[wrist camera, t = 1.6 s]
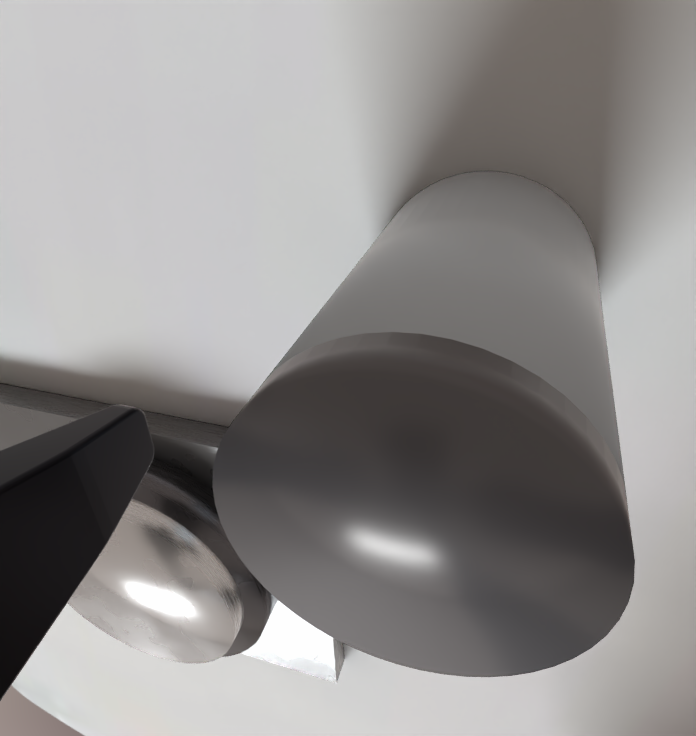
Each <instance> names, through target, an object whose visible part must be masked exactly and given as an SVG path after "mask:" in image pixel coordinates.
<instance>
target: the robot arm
mask: <svg viewBox="0 0 696 736" xmlns="http://www.w3.org/2000/svg"><path fill="white" fill-rule="evenodd" d="M153 457H154V444H153V441H152V437H151V434H150V430H149V427H148V423H147V420H146V417H145V414H144V412H143V411H142V410H141V409H139V408H137V407H132V406H127V405H121V404H117V405H112V406H110V407H107V408H105V409H102V410H100V411H97V412H95V413H92V414H90V415H87V416H85V417H82V418H80V419H78V420H75V421H73V422H70V423H68V424H65V425H63V426H60V427H58V428H55V429H53V430H50V431H48V432H45V433H43V434H40V435H38V436H35V437H33V438H30V439H28V440H25V441H23V442H20V443H18V444H15V445H13V446H10V447H8V448H5V449H3V450H0V701H1V699H2V698H3V696H4V695H5V693H6V692H7V690H8V689H9V688H10V686H11V685H12V683H13V682H14V680H15V679H16V677H17V676H18V674H19V673H20V671H21V670H22V668H23V667H24V665H25V664H26V663H27V661H28V660H29V658H30V657H31V655H32V654H33V652H34V651H35V649H36V648H37V646H38V645H39V643H40V642H41V641H42V639H43V638H44V636H45V635H46V633H47V632H48V630H49V629H50V627H51V626H52V624H53V623H54V621H55V620H56V619H57V617H58V616H59V614H60V613H61V611H62V610H63V608H64V607H65V605H66V604H67V602H68V601H69V599H70V598H71V596H72V595H73V594H74V592H75V591H76V589H77V588H78V586H79V585H80V583H81V582H82V580H83V579H84V577H85V576H86V574H87V573H88V572H89V570H90V569H91V567H92V566H93V564H94V563H95V561H96V560H97V558H98V557H99V555H100V554H101V552H102V551H103V549H104V548H105V546H106V544H107V543H108V541H109V539H110V538H111V536H112V534H113V532H114V531H115V529H116V527H117V525H118V523H119V522H120V520H121V518H122V516H123V514H124V513H125V511H126V509H127V507H128V505H129V503H130V502H131V500H132V498H133V496H134V494H135V492H136V491H137V489H138V487H139V485H140V483H141V482H142V480H143V478H144V476H145V474H146V472H147V471H148V469H149V467H150V465H151V463H152V461H153Z"/></svg>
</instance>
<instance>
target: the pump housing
mask: <svg viewBox="0 0 696 736" xmlns="http://www.w3.org/2000/svg"><path fill="white" fill-rule="evenodd" d="M213 494H214V500H215V506H216V509H217V512H218V516H219V519H220V522H221V525H222V527H223V529H224V531H225V533H226V536H227V538H228V540H229V541H230V543H231V545H232V546H233V548H234V550H235V551H236V553H237V555H238V556H239V558H240V559H241V560H242V562H243V563H244V564H245V566H246V567H247V568H248V570H249V571H250V572H251V573H252V574H253V576H254V577H255V578H256V579H257V580H258V581H259V582H260V583H261V584H262V585H263V587H264V588H266V589H267V590H268V591H269V592H270V593H271V594H272V595H273V596H274V597H275V598H276V599H277V600H278V601H280V602H281V603H282V604H283V605H285V606H286V607H287V608H288V609H290V610H291V611H292V612H293V613H295V614H296V615H297V616H299V617H300V618H302V619H303V620H305V621H306V622H308V623H309V624H311V625H312V626H314V627H315V628H317V629H319V630H320V631H322V632H324V633H326V634H327V635H329V636H331V637H333V638H334V639H336V640H338V641H340V642H343V643H345V644H347V645H349V646H351V647H353V648H355V649H357V650H360V651H362V652H365V653H367V654H370V655H372V656H374V657H377V658H380V659H383V660H386V661H389V662H392V663H395V664H399V665H403V666H406V667H410V668H414V669H418V670H423V671H428V672H434V673H439V674H447V675H456V676H466V677H498V676H512V675H518V674H525V673H531V672H535V671H539V670H543V669H547V668H550V667H554V666H556V665H559V664H561V663H564V662H566V661H568V660H571V659H573V658H575V657H577V656H578V655H580V654H582V653H584V652H585V651H587V650H589V649H590V648H592V647H593V646H594V645H595V644H597V643H598V642H599V641H600V640H601V639H603V638H604V637H605V636H606V635H607V634H608V633H609V632H610V630H611V629H612V628H613V627H614V626H615V624H616V623H617V622H618V621H619V619H620V617H621V616H622V614H623V612H624V610H625V608H626V606H627V604H628V602H629V598H630V595H631V591H632V587H633V584H634V565H635V560H634V552H633V544H632V536H631V529H630V521H629V513H628V505H627V497H626V490H625V482H624V474H623V466H622V458H621V451H620V443H619V435H618V427H617V420H616V412H615V404H614V396H613V388H612V381H611V373H610V365H609V357H608V349H607V342H606V334H605V326H604V318H603V311H602V303H601V295H600V287H599V279H598V272H597V264H596V258H595V251H594V248H593V245H592V242H591V239H590V236H589V234H588V232H587V230H586V228H585V226H584V224H583V222H582V221H581V220H580V218H579V217H578V215H577V214H576V212H575V211H574V210H573V209H572V208H571V207H570V206H569V205H568V204H567V203H566V202H565V201H564V200H563V199H562V198H561V197H559V196H558V195H557V194H555V193H554V192H553V191H552V190H550V189H548V188H546V187H545V186H543V185H541V184H539V183H537V182H535V181H532V180H530V179H527V178H525V177H522V176H518V175H514V174H510V173H504V172H495V171H475V172H469V173H463V174H458V175H455V176H451V177H448V178H445V179H443V180H440V181H438V182H436V183H434V184H431V185H430V186H428V187H426V188H425V189H423V190H422V191H420V192H419V193H417V194H416V195H415V196H414V197H412V198H411V199H410V200H409V201H408V202H407V203H406V204H405V205H404V206H403V207H402V208H401V209H400V210H399V211H398V213H397V214H396V215H395V216H394V218H393V219H392V220H391V221H390V223H389V224H388V225H387V226H386V228H385V229H384V230H383V232H382V233H381V234H380V235H379V237H378V238H377V239H376V240H375V242H374V243H373V244H372V245H371V247H370V248H369V249H368V251H367V252H366V253H365V254H364V256H363V257H362V258H361V259H360V261H359V262H358V263H357V264H356V266H355V267H354V268H353V270H352V271H351V272H350V273H349V275H348V276H347V277H346V278H345V280H344V281H343V282H342V283H341V285H340V286H339V287H338V289H337V290H336V291H335V292H334V294H333V295H332V296H331V297H330V299H329V300H328V301H327V303H326V304H325V305H324V306H323V308H322V309H321V310H320V311H319V313H318V314H317V315H316V316H315V318H314V319H313V320H312V322H311V323H310V324H309V325H308V327H307V328H306V329H305V330H304V332H303V333H302V334H301V335H300V337H299V338H298V339H297V341H296V342H295V343H294V344H293V346H292V347H291V348H290V349H289V351H288V352H287V353H286V354H285V356H284V357H283V358H282V360H281V361H280V362H279V363H278V365H277V366H276V367H275V368H274V370H273V371H272V372H271V373H270V375H269V376H268V377H267V379H266V380H265V381H264V382H263V384H262V385H261V386H260V387H259V389H258V390H257V391H256V393H255V394H254V395H253V396H252V398H251V399H250V400H249V401H248V403H247V404H246V405H245V406H244V408H243V409H242V410H241V412H240V413H239V414H238V415H237V417H236V418H235V419H234V420H233V422H232V423H231V425H230V426H229V428H228V429H227V431H226V432H225V434H224V435H223V438H222V440H221V442H220V445H219V447H218V450H217V452H216V457H215V461H214V466H213Z"/></svg>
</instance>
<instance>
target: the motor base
mask: <svg viewBox="0 0 696 736" xmlns="http://www.w3.org/2000/svg"><path fill="white" fill-rule="evenodd" d="M110 406H112V405H109V404H104V403H99V402H94V401H89V400H83V399H78V398H73V397H68V396H63V395H57V394H52V393H47V392H42V391H37V390H31V389H26V388H21V387H16V386H11V385H5V384H0V450H3V449H5V448H8V447H10V446H13V445H15V444H18V443H20V442H23V441H25V440H28V439H30V438H33V437H35V436H38V435H40V434H43V433H45V432H48V431H50V430H53V429H55V428H58V427H60V426H63V425H65V424H68V423H70V422H73V421H75V420H78V419H80V418H82V417H85V416H87V415H90V414H92V413H95V412H97V411H100V410H102V409H105V408H107V407H110ZM143 412H144V414H145V417H146V420H147V423H148V427H149V430H150V434H151V437H152V441H153V444H154V457H153V461H152V463H151V465H150V467H149V469H148V471H147V472H146V474H145V476H144V478H143V480H142V482H141V483H140V485H139V487H138V489H137V491H136V492H135V494H134V496H133V498H132V500H131V502H130V503H129V505H128V507H127V509H126V511H125V513H124V514H123V516H122V518H121V520H120V522H119V523H118V525H117V527H116V529H115V531H114V532H113V534H112V536H111V538H110V539H109V541H108V543H107V544H106V546H105V548H104V549H103V551H102V552H101V554H100V555H99V557H98V558H97V560H96V561H95V563H94V564H93V566H92V567H91V569H90V570H89V572H88V573H87V574H86V576H85V577H84V579H83V580H82V582H81V583H80V585H79V586H78V588H77V589H76V591H75V592H74V594H73V595H72V596H71V598H70V599H69V601H68V602H67V603H68V604H69V605H70V606H71V607H72V608H73V609H74V610H76V611H77V612H78V613H79V614H80V615H82V616H83V617H84V618H85V619H87V620H88V621H89V622H91V623H92V624H94V625H95V626H96V627H98V628H99V629H101V630H102V631H104V632H105V633H107V634H109V635H110V636H112V637H114V638H116V639H117V640H119V641H121V642H123V643H125V644H127V645H129V646H131V647H133V648H135V649H137V650H140V651H142V652H145V653H147V654H150V655H153V656H156V657H159V658H163V659H166V660H171V661H175V662H182V663H206V662H210V661H214V660H216V659H218V658H220V657H224V656H231V655H235V654H239V653H242V654H245V655H248V656H252V657H255V658H258V659H261V660H264V661H267V662H271V663H274V664H277V665H280V666H283V667H286V668H290V669H293V670H296V671H299V672H302V673H305V674H309V675H312V676H315V677H318V678H321V679H324V680H328V681H331V682H334V683H337V680H338V677H339V674H340V671H341V668H342V665H343V662H344V651H343V642H340V641H338V640H336V639H334V638H333V637H331V636H329V635H327V634H326V633H324V632H322V631H320V630H319V629H317V628H315V627H314V626H312V625H311V624H309V623H308V622H306V621H305V620H303V619H302V618H300V617H299V616H297V615H296V614H295V613H293V612H292V611H291V610H290V609H288V608H287V607H286V606H285V605H283V604H282V603H281V602H280V601H278V600H277V599H276V598H275V597H274V596H273V595H272V594H271V593H270V592H269V591H268V590H267V589H266V588H264V587H263V585H262V584H261V583H260V582H259V581H258V580H257V579H256V578H255V577H254V576H253V574H252V573H251V572H250V571H249V570H248V568H247V567H246V566H245V564H244V563H243V562H242V560H241V559H240V558H239V556H238V555H237V553H236V551H235V550H234V548H233V546H232V545H231V543H230V541H229V540H228V538H227V536H226V533H225V531H224V529H223V527H222V525H221V522H220V519H219V516H218V512H217V509H216V506H215V500H214V494H213V466H214V461H215V457H216V452H217V450H218V447H219V445H220V442H221V440H222V438H223V435H224V434H225V432H226V431H227V429H228V428H229V427H224V426H219V425H213V424H208V423H203V422H198V421H193V420H187V419H182V418H177V417H172V416H167V415H161V414H156V413H151V412H146V411H143Z"/></svg>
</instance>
